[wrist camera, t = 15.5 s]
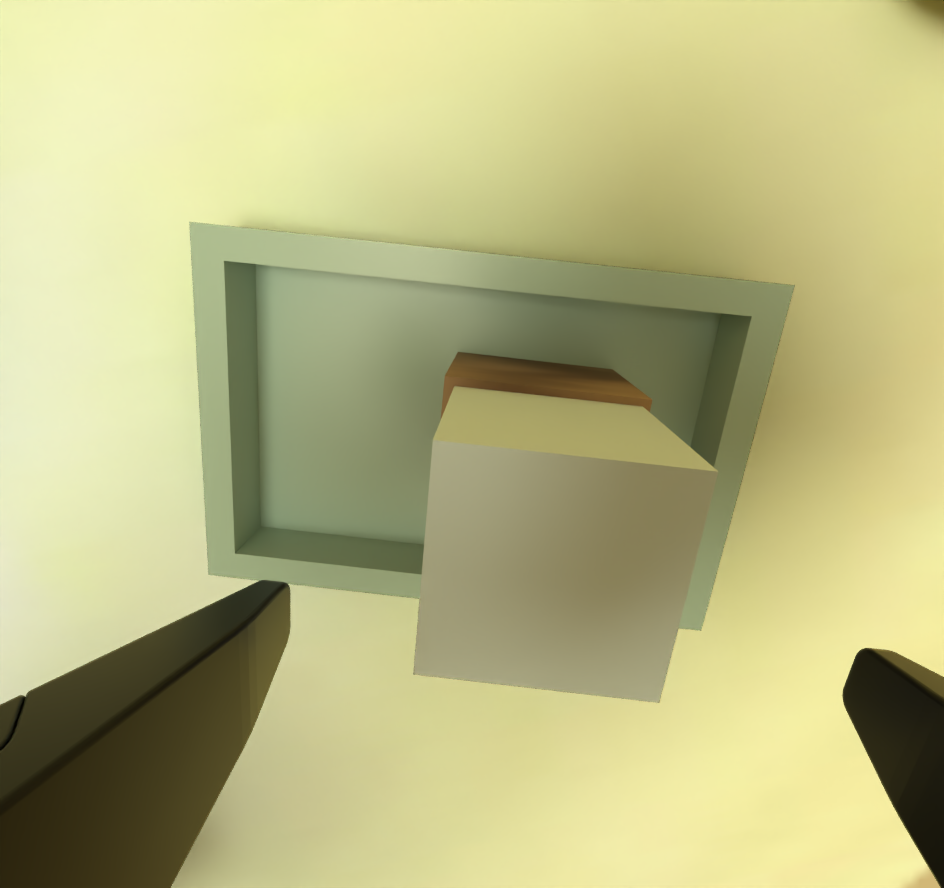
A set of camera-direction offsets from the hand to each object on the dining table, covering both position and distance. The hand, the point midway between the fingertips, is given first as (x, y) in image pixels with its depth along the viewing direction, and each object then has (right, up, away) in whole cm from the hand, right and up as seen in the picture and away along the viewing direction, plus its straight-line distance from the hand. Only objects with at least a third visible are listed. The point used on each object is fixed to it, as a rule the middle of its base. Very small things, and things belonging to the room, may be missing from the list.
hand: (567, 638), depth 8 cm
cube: (0, +2, +6) cm, 7 cm away
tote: (-1, +4, +12) cm, 13 cm away
